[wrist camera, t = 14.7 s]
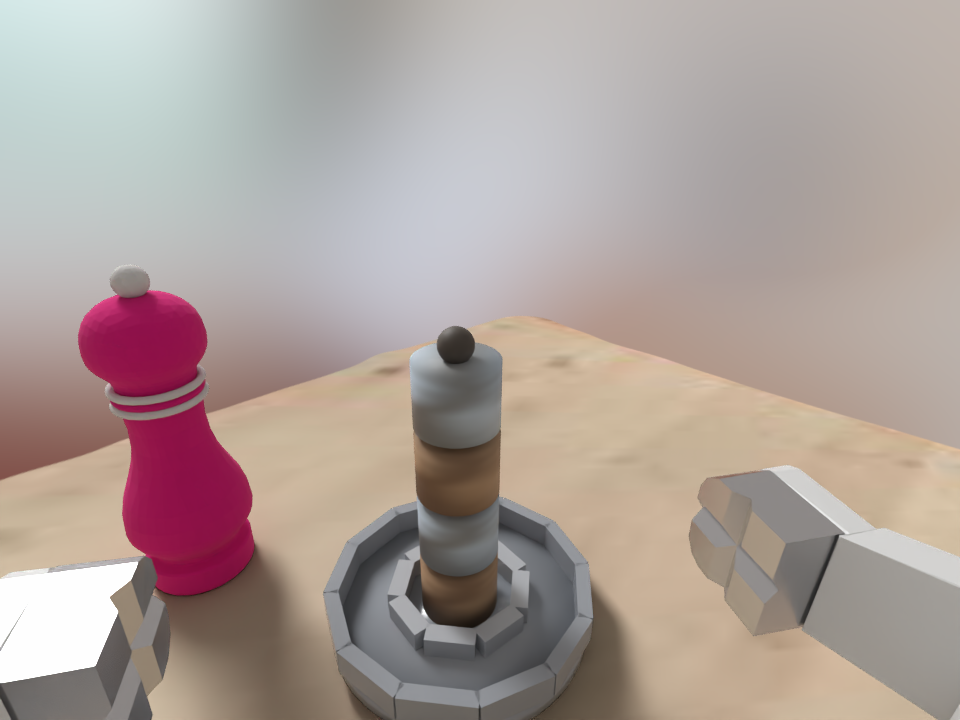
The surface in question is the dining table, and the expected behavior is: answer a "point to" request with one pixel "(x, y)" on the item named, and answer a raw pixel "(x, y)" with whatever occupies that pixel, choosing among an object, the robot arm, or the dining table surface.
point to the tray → (459, 650)
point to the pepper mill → (168, 436)
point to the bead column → (457, 475)
